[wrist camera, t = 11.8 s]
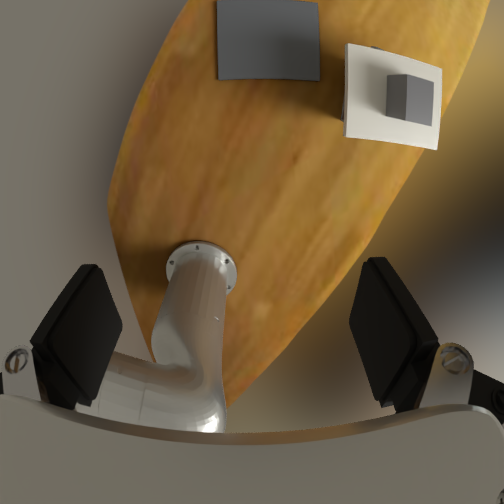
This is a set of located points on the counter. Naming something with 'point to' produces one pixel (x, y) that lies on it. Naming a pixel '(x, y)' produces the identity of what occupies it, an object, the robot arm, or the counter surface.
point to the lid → (391, 98)
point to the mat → (268, 40)
